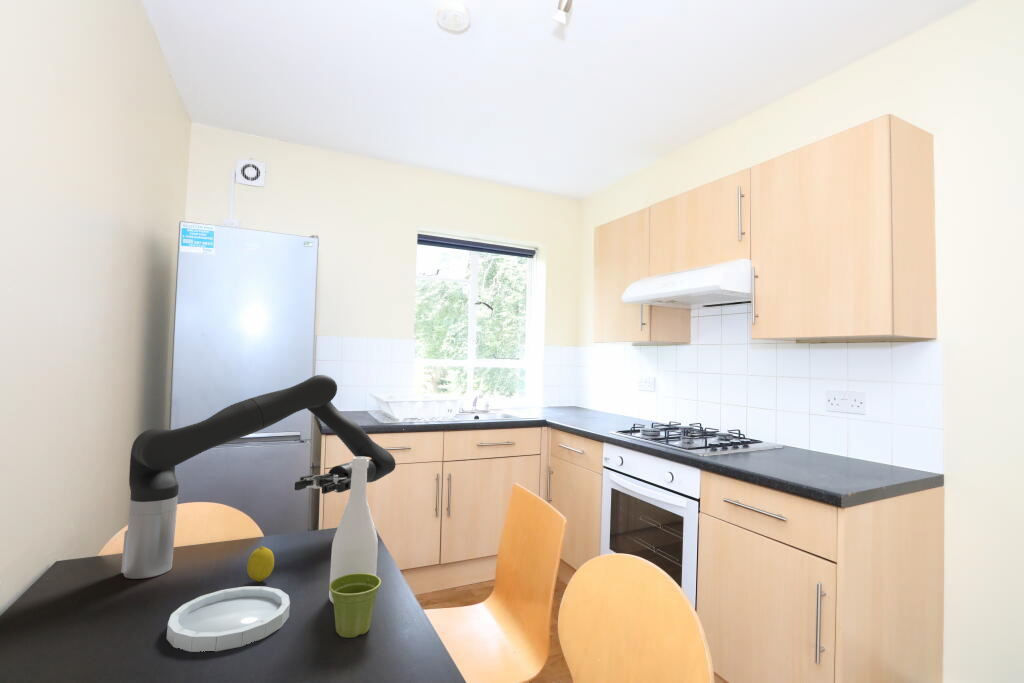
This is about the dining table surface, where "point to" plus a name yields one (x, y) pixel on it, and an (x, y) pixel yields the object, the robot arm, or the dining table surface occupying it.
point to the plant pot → (354, 602)
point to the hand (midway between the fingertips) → (309, 488)
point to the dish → (228, 618)
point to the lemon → (260, 564)
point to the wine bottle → (355, 530)
